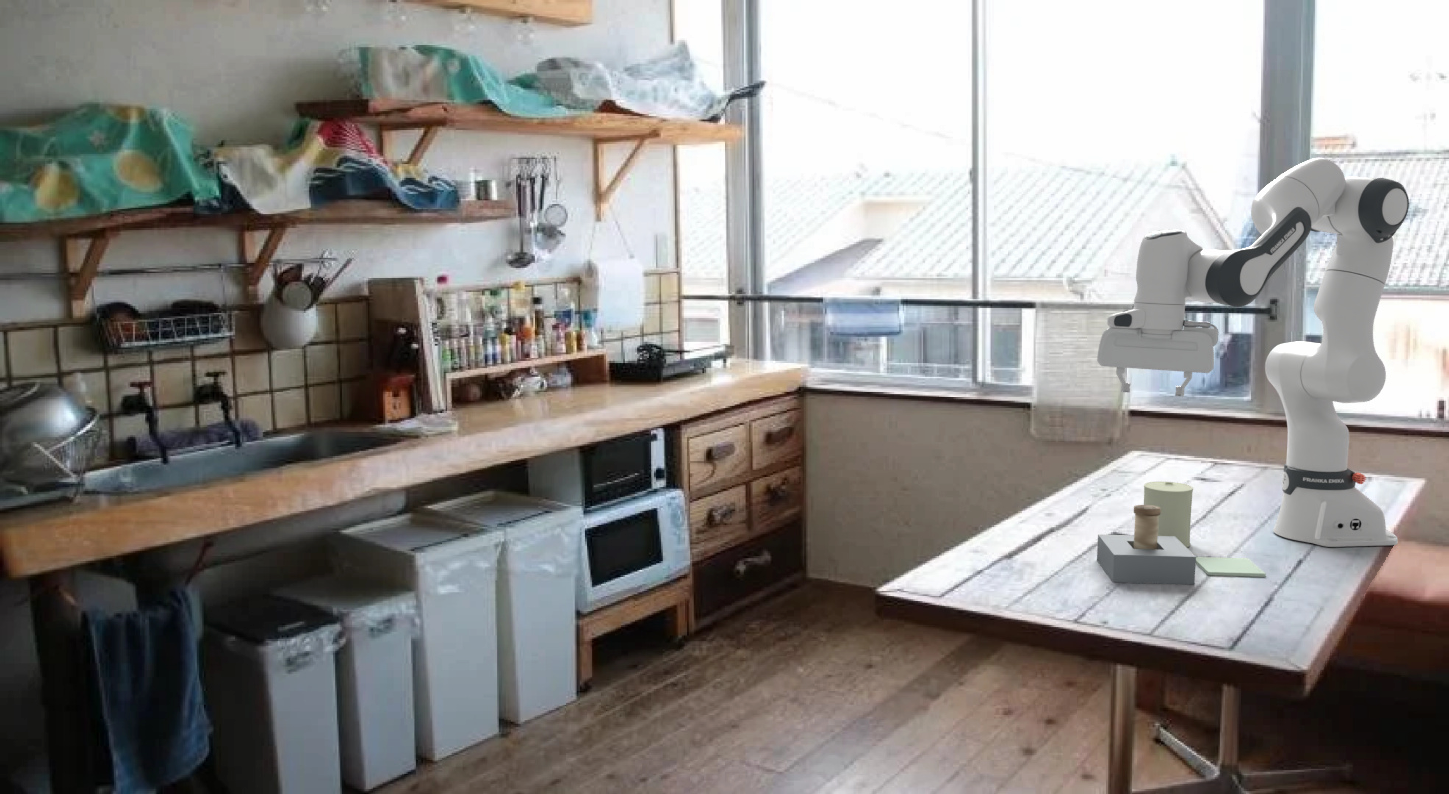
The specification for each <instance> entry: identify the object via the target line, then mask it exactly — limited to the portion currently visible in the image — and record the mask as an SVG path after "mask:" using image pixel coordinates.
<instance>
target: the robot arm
mask: <svg viewBox="0 0 1449 794" xmlns="http://www.w3.org/2000/svg"><path fill="white" fill-rule="evenodd" d="M1409 207H1410V200H1409V196H1408V193H1407V191H1406V189H1405V187H1404V185H1403V184H1402V183H1400V182H1399V181H1396V180H1393V179H1389V178H1385V177H1384V178H1383V177H1378V178H1376V177H1375V178H1374V177H1367V176H1366V177H1365V176H1346V177H1345V174H1344V171H1343V170H1342V169H1341V167H1340V166H1339V165H1338V164H1336V163H1335V162H1334V161H1333V160H1331V159H1328V158H1323V157H1316V158H1315V157H1314V158H1311V159H1308V160H1306V161H1304V162H1302V163H1299V164H1298V165H1295V166H1293V167H1292V168H1290V169H1288V170H1287V171H1285V172H1284V173H1281V174H1280V175H1279V176H1278V177H1276V179H1273V181H1270V183H1268V184H1267V185H1266V186H1265V187H1263V188H1262V189H1261V190H1260V191H1259V192H1258V193H1257V195H1256V196H1255V197H1254V199H1253V200H1252V203H1251V209H1250V212H1251V220H1252V222H1253V225H1254V226H1255V228H1256V230H1257V232H1259V234H1261V236H1259V237H1258V239H1256V241H1255V242H1253V244H1252V245H1250V246H1248V247H1245V248H1241V249H1239V248H1238V249H1206V248H1205V247H1203V246H1201V245H1198V244H1197V243H1195V242H1194V241H1193V240H1191V238H1190V237H1189V236H1188V233H1187V232H1186V231H1185V230H1183V229H1177V228H1176V229H1173V228H1172V229H1170V228H1169V229H1161V230H1154V231H1151V232H1149V233H1147V234H1145V235H1144V237H1143V238H1142V240H1141V243H1140V246H1139V250H1138V255H1137V259H1136V260H1137V262H1136V270H1135V271H1136V272H1135V281H1136V287H1137V291H1136V295H1135V297H1134V300H1133V308H1132V309H1125V310H1122V311H1120V312H1119V311H1118V312H1116V313H1112V314H1110V315H1109V316H1108V317H1107V325H1108V328H1106V329H1105V330H1104V331H1103V333H1102V334H1101V337H1100V341H1099V346H1098V351H1097V358H1096V360H1097V363H1098V364H1099V366H1101V367H1108V368H1115V369H1116V372H1115V373H1116V375H1117V377H1118V379H1119V382H1120V384H1121V388H1120V392H1121V393H1130V392H1131V385H1132V384H1131V382H1129V381H1126V379H1125V376H1124V375H1123V374H1125V372H1126V369H1140V370H1153V371H1167V372H1168V371H1170V372H1183V379H1184V381H1183V382H1182V383H1181V385H1175V394H1174V396H1175V397H1185V388H1186V387H1187V385H1188V384H1189V382H1191V380H1192V378H1193V373H1200V374H1209V373H1211V372H1212V371H1213V370H1214V367H1215V366H1214V365H1215V353H1214V347H1215V346H1216V345H1217V344H1218V341H1219V329H1218V328H1217V326H1216V325H1214V324H1212V323H1211V322H1210V321H1204V320H1203V321H1195V320H1185V314H1186V313H1185V309H1186V301H1190V302H1191V301H1193V302H1200V303H1209V304H1210V303H1211V304H1220V305H1224V306H1229V307H1233V308H1235V307H1236V308H1243V307H1246V306H1248V305H1249V304H1251V303H1252V302H1254V300H1255V299H1257V298H1258V296H1259V295H1260V294H1261V292H1262V291H1263V289H1264V288H1265V286H1266V285H1267V283H1268V281H1269V280H1270V278H1271V277H1272V276H1273V274H1275V272H1277V270H1278V269H1279V268H1280V267H1281V266H1283V265H1284V263H1285V262H1286V261H1287V260H1288V259H1289V258H1290V257H1291V256H1292V255H1293V254H1294V253H1295V251H1296V250H1298V249H1299V248H1300V247H1301V246H1302V245H1303V244H1304V242H1305V240H1307V238H1308V236H1309V235H1310V233H1311V232H1313V233H1314V232H1316V233H1319V232H1322V233H1327V234H1336V246H1334V249H1333V251H1332V253H1331V254H1330V257H1329V260H1328V263H1327V265H1326V268H1325V271H1324V273H1323V277H1322V279H1321V282H1320V285H1319V288H1318V292H1317V295H1316V296H1315V300H1314V303H1313V311H1314V314H1315V316H1316V317H1317V318H1318V319H1319V321H1321V324H1322V327H1323V328H1322V329H1323V330H1322V331H1323V332H1322V339H1321V343H1319V342H1313V341H1304V340H1299V341H1298V340H1297V341H1290V342H1284V343H1280V344H1277V345H1276V346H1275V347H1273V348H1272V350H1270V351H1269V354H1268V355H1267V357H1266V359H1265V364H1264V369H1265V370H1264V371H1265V372H1264V373H1265V376H1266V378H1267V380H1268V382H1269V383H1270V384H1271V385H1272V386H1273V388H1274V389H1275V391H1276V393H1277V394H1278V397H1279V398H1280V401H1281V403H1282V406H1283V411H1284V414H1285V418H1286V426H1287V427H1286V428H1287V447H1286V448H1287V449H1286V462H1285V464H1283V472H1282V479H1281V486H1282V487H1281V488H1282V489H1281V490H1282V492H1283V494H1282V498H1281V503H1280V509H1279V512H1278V516H1277V519H1276V521H1275V524H1274V527H1273V529H1272V531H1273V533H1274V534H1276V535H1277V536H1280V537H1283V538H1286V539H1289V540H1294V541H1299V542H1305V543H1311V544H1315V545H1318V546H1322V547H1329V548H1331V547H1332V548H1333V547H1334V548H1335V547H1336V548H1338V547H1368V546H1369V547H1370V546H1371V547H1373V546H1379V547H1380V546H1396V545H1398V544H1399V543H1398V542H1399V540H1398V536H1397V535H1395V533H1393V532H1391V531H1390V530H1387V529H1386V528H1387V525H1386V518H1385V514H1384V511H1383V509H1382V508H1381V507H1380V506H1379V505H1377V503H1375V502H1374V501H1372V499H1370V498H1369V497H1368V496H1367V495H1365V494H1364V493H1363V492H1362V491H1360V490H1359V489H1358V488H1357V487H1356V484H1358V485H1362V484H1365V482H1366V480H1367V477H1366V476H1365V474H1364V473H1361V472H1355V471H1353V470H1352V469H1350V468H1348V460H1349V447H1350V431H1349V428H1348V427H1347V425H1346V424H1345V423H1344V422H1343V421H1342V419H1341V418H1340V416H1338V413H1337V411H1336V409H1335V406H1334V402H1335V403H1336V402H1337V403H1342V404H1355V403H1357V404H1358V403H1365V402H1366V403H1367V402H1370V401H1372V400H1373V399H1375V398H1376V397H1377V396H1378V395H1379V394H1380V393H1381V391H1382V390H1383V388H1384V386H1385V383H1386V379H1387V378H1386V377H1387V375H1386V372H1387V371H1386V367H1385V364H1384V362H1383V361H1382V359H1381V358H1380V356H1379V355H1378V353H1377V352H1376V347H1375V344H1374V343H1375V342H1374V325H1375V324H1374V323H1375V318H1376V314H1377V311H1378V308H1379V304H1380V302H1381V297H1382V295H1383V292H1384V288H1385V286H1386V282H1387V279H1388V276H1389V272H1390V268H1391V264H1392V259H1393V251H1394V238H1393V236H1394V235H1395V234H1396V233H1397V231H1398V230H1399V229H1400V228H1401V226H1402V224H1403V223H1404V222H1405V219H1406V217H1407V216H1408V212H1409Z"/></svg>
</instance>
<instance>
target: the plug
mask: <svg viewBox="0 0 1449 794" xmlns="http://www.w3.org/2000/svg"><path fill="white" fill-rule="evenodd" d="M1133 513H1134V515H1135V516H1134V529H1133V530H1134V533H1133V534H1134V549H1157V538H1158V519H1159V515H1160V514H1161V508H1160V507H1157V506H1152V505H1144V504H1137V505H1136V504H1135V505H1134V506H1133Z"/></svg>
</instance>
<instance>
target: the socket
mask: <svg viewBox="0 0 1449 794" xmlns="http://www.w3.org/2000/svg"><path fill="white" fill-rule="evenodd" d="M1096 549H1097V550H1096V561H1097V562H1098V564H1099V565H1100V567H1101V568H1102V570H1103V571H1104V572H1105V573H1106V575H1107V577H1109V579H1110V580H1111V582H1112V583H1125V584H1126V583H1130V584H1131V583H1132V584H1134V583H1136V584H1161V585H1162V584H1166V585H1168V584H1169V585H1195V584H1196V583H1195V582H1196V565H1197V564H1196V557H1197V556H1196V555H1195V554H1193V553H1192V551H1191V550H1190V549H1188V547H1187V548H1186V547H1185V546H1184V545H1183V544H1182V543H1181V542H1180V541H1179V540H1178V539H1177V538H1176V537H1175V536H1158V538H1157V549H1134V535H1131V534H1097V548H1096Z"/></svg>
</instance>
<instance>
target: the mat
mask: <svg viewBox="0 0 1449 794" xmlns="http://www.w3.org/2000/svg"><path fill="white" fill-rule="evenodd" d="M1196 565H1197V566H1198V567H1199V568H1200V569H1201V570H1202V571H1203V572H1204V573H1205V574H1206V575H1207V576H1215V577H1217V576H1222V577H1223V576H1224V577H1227V576H1228V577H1256V578H1257V577H1261V578H1266V576H1267V573H1266V572H1265V571H1264V570H1263V569H1261V568H1260V567H1259V566H1257V564H1255V563H1254V562H1253V561H1252V560H1251V559H1249V558H1247V557H1246V558H1245V557H1212V556H1211V557H1209V556H1196Z"/></svg>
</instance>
